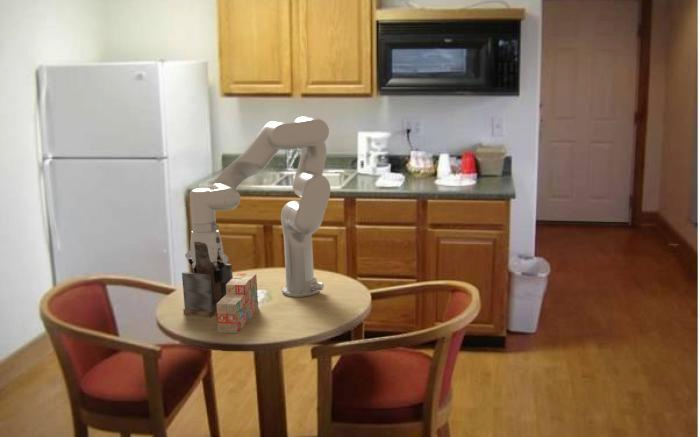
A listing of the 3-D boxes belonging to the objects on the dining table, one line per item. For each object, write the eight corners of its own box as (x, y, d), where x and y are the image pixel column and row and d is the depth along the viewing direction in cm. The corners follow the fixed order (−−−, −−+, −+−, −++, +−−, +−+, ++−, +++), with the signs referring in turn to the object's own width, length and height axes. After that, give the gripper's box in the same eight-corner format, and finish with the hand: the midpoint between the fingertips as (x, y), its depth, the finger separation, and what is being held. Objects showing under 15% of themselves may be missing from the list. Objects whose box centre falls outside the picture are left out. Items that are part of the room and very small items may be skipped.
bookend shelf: (235, 302, 255) (233, 263, 252) (209, 317, 242) (206, 276, 239) (210, 299, 259) (207, 260, 256) (183, 313, 246) (180, 273, 243)
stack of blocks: (237, 334, 228) (235, 294, 225) (217, 333, 229) (214, 293, 227) (258, 309, 249) (256, 272, 246) (240, 308, 250) (237, 272, 247)
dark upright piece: (199, 296, 253) (195, 238, 249) (222, 295, 254) (217, 236, 250) (197, 304, 246) (192, 244, 241) (221, 302, 247) (216, 242, 242)
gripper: (233, 226, 244) (237, 279, 248) (189, 222, 251) (193, 274, 256) (220, 231, 238) (224, 286, 242) (174, 227, 245) (179, 280, 249)
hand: (208, 279), depth 249 cm, fingers closed on dark upright piece, 7 cm apart
